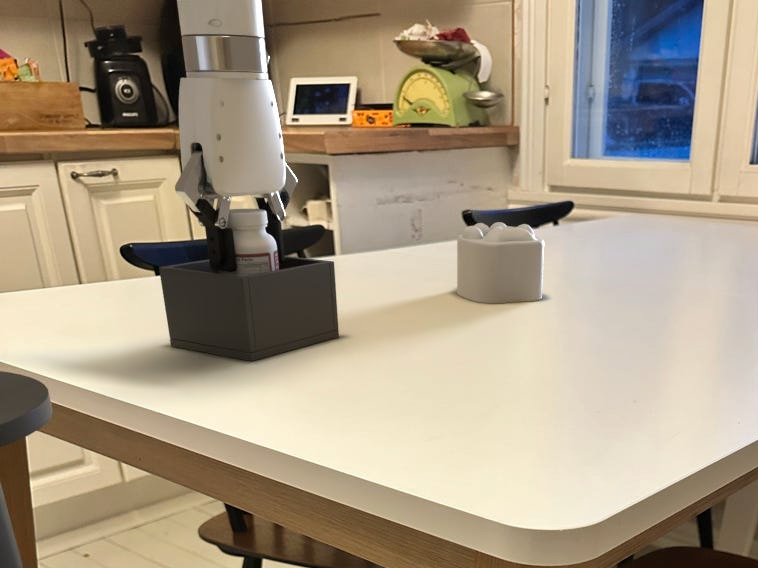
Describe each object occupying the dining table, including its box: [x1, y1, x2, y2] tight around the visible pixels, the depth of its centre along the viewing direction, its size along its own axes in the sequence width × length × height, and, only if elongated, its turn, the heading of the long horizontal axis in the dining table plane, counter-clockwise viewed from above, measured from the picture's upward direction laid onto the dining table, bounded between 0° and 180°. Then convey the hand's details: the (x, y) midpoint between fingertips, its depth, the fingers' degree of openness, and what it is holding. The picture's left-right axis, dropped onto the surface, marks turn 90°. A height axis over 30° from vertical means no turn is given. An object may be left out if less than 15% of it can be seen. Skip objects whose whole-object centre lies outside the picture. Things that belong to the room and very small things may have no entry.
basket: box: [158, 255, 340, 362], centre depth 97 cm, size 14×12×8 cm
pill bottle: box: [219, 208, 279, 277], centre depth 95 cm, size 6×6×11 cm
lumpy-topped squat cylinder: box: [456, 221, 545, 304], centre depth 123 cm, size 10×13×9 cm
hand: (248, 264), depth 95 cm, fingers closed on pill bottle, 6 cm apart
